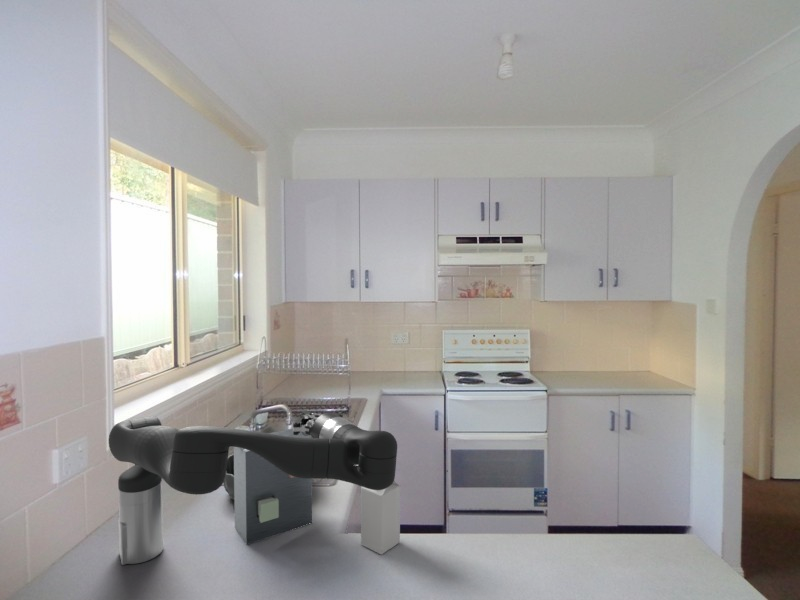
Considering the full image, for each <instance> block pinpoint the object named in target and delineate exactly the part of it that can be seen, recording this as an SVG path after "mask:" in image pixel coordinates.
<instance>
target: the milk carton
mask: <svg viewBox="0 0 800 600" xmlns="http://www.w3.org/2000/svg"><path fill="white" fill-rule="evenodd" d="M400 541H401V485H400V484H399V483H398V482H396V481H395V480H394V482H393V483H392V484H391V485H390V486H389V487H388V488H386V489H383V490H372V489H368V488H365V487H362V486H360V544H361V545H362V546H364V547H366V548H368V549H369V550H371V551H373V552H375V553H376V554H379V555H383V554H385V553H386V552H387V551H389V550H390V549H392V548H394V547H395V546H396V545H398V544H399V543H400Z"/></svg>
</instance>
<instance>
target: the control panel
mask: <svg viewBox="0 0 800 600" xmlns="http://www.w3.org/2000/svg"><path fill="white" fill-rule="evenodd" d="M268 433H269V434H275V435H281V436H288V437H299V438H312V436H311V435H307V434H305V432H302V433H299V434H298V435H294V434H293V428H287V429H283V430H279V431H273V432H268ZM233 454H234V528H235V530H236V531H237V533H238V534H239V536H240V537H241V539H242V540H243V542H244V543H245V544H246V545H249V544H253V543H257V542H259V541H262V540H265V539H268V538H271V537H275V536H277V535H280V534H284V533H286V532H290V531H293V530H296V529H298V527H299V528H301V526H302V527H304V526H303V525H305V526H307V525H306V524H308V525H310V524H309V523H311V524H313V478H311V479H310V478H298V477H293V478H291V477H289V474H287V473H285V472H283V471H282V470H280V469H279V468H277V467H276V466H274V465H273V464H271V463H270V462H269V461H267V460H266V459H264V458H263V457H261V456H259V455H257V454H256V453H254V452H252V451H250V450H247V449H243V448H239V447H233ZM270 496H272V497H273V498H274V499H275V498H277V499H278V500H279V518H275V519H272V520H269V521H266V522H262V523H261V522H260V521H259V516H258V515H257V500H259V499H263V498H266V497H270ZM295 528H296V529H295ZM292 529H293V530H292Z"/></svg>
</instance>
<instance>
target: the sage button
mask: <svg viewBox="0 0 800 600" xmlns="http://www.w3.org/2000/svg"><path fill="white" fill-rule="evenodd" d="M257 515H258V516H259V521H260V522H261V523H262V522H266V521H269V520H272V519H275V518H279V500H278V499H277V498H275V499H274V498H273V497H272V496H270V497H266V498H263V499H259V500H257Z"/></svg>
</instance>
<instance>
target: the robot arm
mask: <svg viewBox="0 0 800 600" xmlns="http://www.w3.org/2000/svg"><path fill="white" fill-rule="evenodd" d="M298 415H299V416H298V417H297V418H296V420H294V422H292V423H293V424H292V429H293V434H294V435H298V434H299V433H302V432H304V433H305V434H307V435H309V436H310V437H312V438H299V437H288V436H281V435H275V434H269V433H270V432H263V431H256V430H255V431H254V430H248V429H247V430H246V429H239V428H238V429H237V428H232V427H224V426H214V425H213V426H211V425H196V426H195V425H193V426H187V427H186V426H185V427H182V428H180V429H178V428H175V427H173V426H168V425H162V422H161V420H160V419H159V417H157V416H154V415H151V416H145V417H139V418H135V419H130V420H124V421H121V422H118V423H116V424H115V425H114V426H112V428H111V430H110V433H109V435H108V447H109V451H110V453H111V454H112V456H113V457H114V459H115V460H117V461H119V462H121V463H123V462H125V463H131V464H133V466H131V467H129V468H128V469H126V470H124V471H123V472H122V473H120V475H119V476H118V479H117V480H118V483H117V484H118V486H117V487H118V516H117V517H118V518H117V520H118V555H119V558H120V564H121V565H122V566H124V565H127V564H130V565H133V564H140V563H141V564H142V563H145V562H147V561H151V560H153V559H155V558H156V557H158V556H159V555H160V554H161V553H162V552H163V550H164V529H163V526H164V523H163V484H162V483H163V482H162V481H164V482H165V483H166V484H167V485H168V486H169V487H170V488H171V489H172V488H173V489H174V490H175V491H178V492H180V493H184V494H189V495H206V494H207V495H208V494H211V493H212V492H215V491H217V490H218V489H220V487H221V486H223V485H224V483H223V482H224V479H225V476H226V470H227V469H226V468H227V461H228V456H229V452H230V451H229V450H230V447H232V448H234V447H239V448H243V449H247V450H250V451H252V452H254V453H256V454H257V455H259V456H261V457H263V458H264V459H266V460H267V461H269V462H270V463H271V464H273V465H274V466H276V467H277V468H279V469H280V470H282V471H283V472H285V473H287V474H289V475H291V476H294V477H298V478H310V479H311V478H312V479H317V480H318V479H320V480H322V479H323V480H336V481H337V480H338V481H341V482H346V483H350V484H353V485H356V486H359V487H361V486H362V487H365V488H368V489H372V490H383V489H386V488H388V487H389V486H390V485H391V484H392V483H393V482H394V481H395V478H396V469H397V468H396V467H397V466H396V465H397V454H398V442H397V441H398V440H396V437H395V436H394V435H393V434H392V433H391V432H389V431H386V430H365V429H363V428H360V427H359V426H357V425H355V423H353V422H351V421H350V420H347V419H346V418H344V416H343V414H341V413H334V412H318V413H316V412H312V411H308V410H307V409H305V410H300V413H299V414H298Z"/></svg>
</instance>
